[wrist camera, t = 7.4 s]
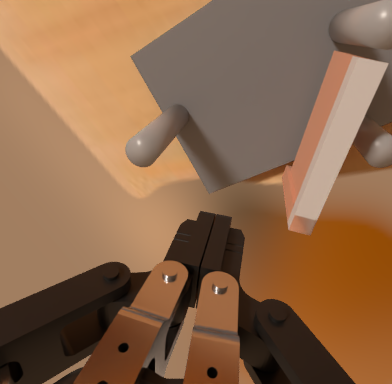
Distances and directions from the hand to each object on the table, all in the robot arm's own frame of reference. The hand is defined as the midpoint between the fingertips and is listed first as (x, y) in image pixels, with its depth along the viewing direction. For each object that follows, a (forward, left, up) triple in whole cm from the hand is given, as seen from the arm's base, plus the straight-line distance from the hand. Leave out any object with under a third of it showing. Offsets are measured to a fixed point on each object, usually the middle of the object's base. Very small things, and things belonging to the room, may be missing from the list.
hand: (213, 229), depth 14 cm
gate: (-6, +1, -13) cm, 15 cm away
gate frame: (-4, -3, -15) cm, 16 cm away
